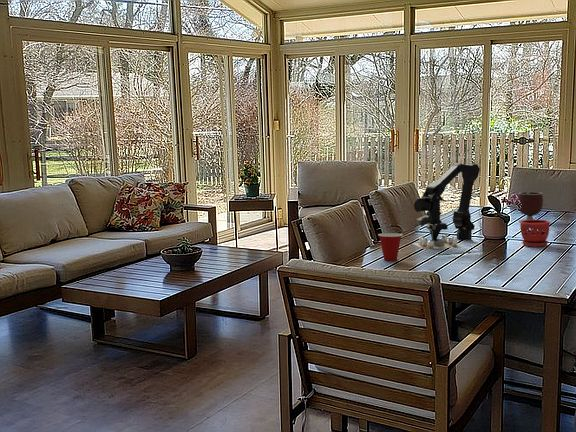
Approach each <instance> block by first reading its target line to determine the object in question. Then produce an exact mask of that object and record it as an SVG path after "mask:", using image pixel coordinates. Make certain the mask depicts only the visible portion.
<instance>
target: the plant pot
mask: <svg viewBox="0 0 576 432" xmlns="http://www.w3.org/2000/svg"><path fill="white" fill-rule="evenodd" d="M519 224H520V233H521V237H522V244H523V245H524V246H527V247H534V248H536V247H537V248H541V247H545V246H547V245H548V244H549V240H547V239H548V237H549V234H550V221H549V220H546V219H534V220H524V221H521V222H519Z"/></svg>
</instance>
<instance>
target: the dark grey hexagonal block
mask: <svg viewBox="0 0 576 432" xmlns="http://www.w3.org/2000/svg"><path fill="white" fill-rule="evenodd" d="M431 240H433V241H434V246H444V245H445V240H444V239H442V238H437V239H432V238H431Z"/></svg>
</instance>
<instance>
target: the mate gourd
mask: <svg viewBox="0 0 576 432" xmlns="http://www.w3.org/2000/svg"><path fill="white" fill-rule="evenodd" d="M518 198H519V200H520V202H521V204H522V209H518V211H519V212H520V213H521V214H522V215H525V216H526V219H519V220H518V223H520V222H521V221H524V220H535V219H534V217H533V216H535V215H538V214H539V213H540V212H541V211H542V210H543V206H544V205H543V204H544V199H543V192H538V191H529V190H528V189H525V191H521V192H518V195H517V199H518Z"/></svg>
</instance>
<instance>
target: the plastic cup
mask: <svg viewBox="0 0 576 432" xmlns="http://www.w3.org/2000/svg"><path fill="white" fill-rule="evenodd" d="M377 235H378V237H379V240H380V245H381V250H382V255H383V256H382V257H383V259H384V261H387V262H394V261H396V262H397V260H398V255H399V251H400V244H401V239H402V237H403V234H402V233H397V232H395V233H393V232H392V233H388V232H387V233H386V232H385V233H378V234H377Z"/></svg>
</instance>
